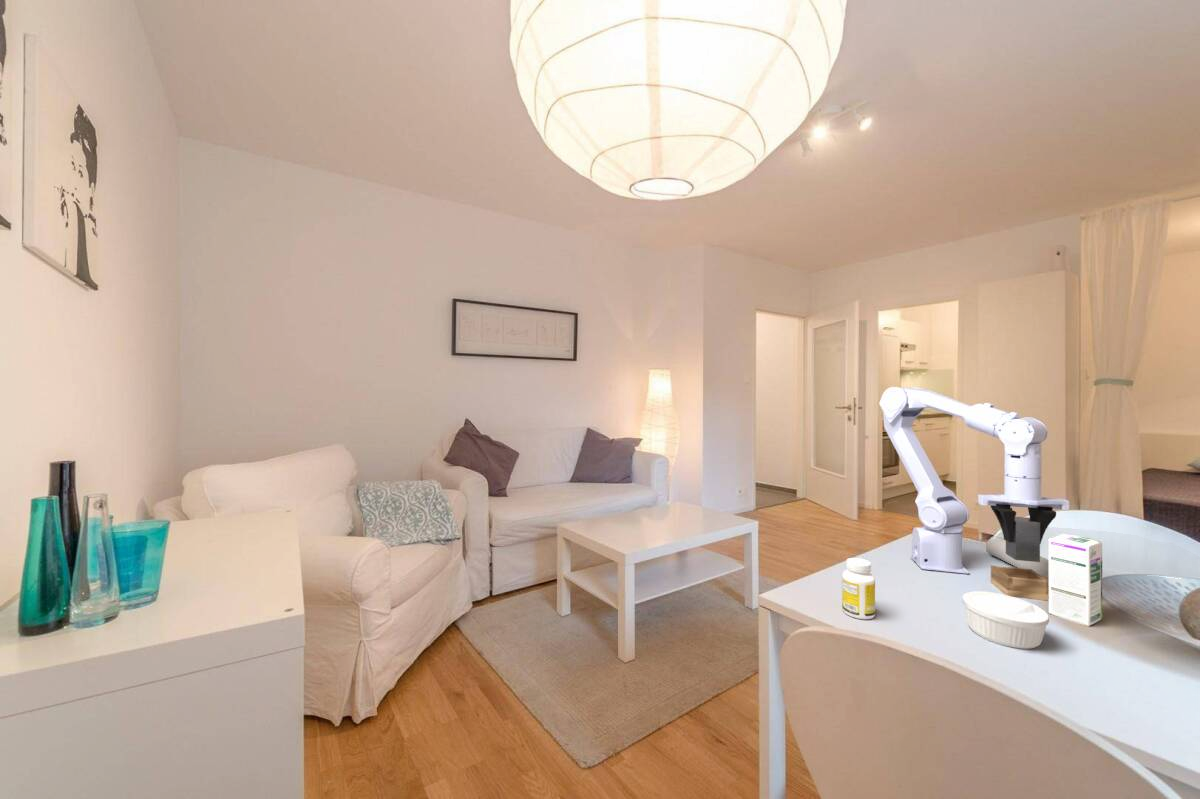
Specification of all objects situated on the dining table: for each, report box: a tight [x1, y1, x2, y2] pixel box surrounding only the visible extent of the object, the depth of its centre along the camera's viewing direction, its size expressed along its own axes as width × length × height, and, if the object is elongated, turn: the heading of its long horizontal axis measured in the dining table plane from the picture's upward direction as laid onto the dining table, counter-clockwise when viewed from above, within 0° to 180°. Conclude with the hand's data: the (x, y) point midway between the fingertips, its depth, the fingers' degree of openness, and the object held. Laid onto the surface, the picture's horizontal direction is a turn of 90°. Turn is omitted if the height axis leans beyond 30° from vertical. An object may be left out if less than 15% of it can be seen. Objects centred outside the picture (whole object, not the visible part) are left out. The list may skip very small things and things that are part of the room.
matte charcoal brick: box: [1006, 516, 1041, 562], centre depth 97 cm, size 4×4×8 cm
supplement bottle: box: [841, 557, 876, 620], centre depth 88 cm, size 5×5×10 cm
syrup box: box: [1048, 533, 1103, 627], centre depth 87 cm, size 6×6×14 cm
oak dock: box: [990, 565, 1049, 602], centre depth 98 cm, size 7×7×4 cm
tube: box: [985, 536, 1049, 580], centre depth 106 cm, size 5×5×25 cm
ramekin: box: [962, 590, 1050, 650], centre depth 81 cm, size 11×11×5 cm
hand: (1021, 541), depth 97 cm, fingers closed on matte charcoal brick, 4 cm apart
